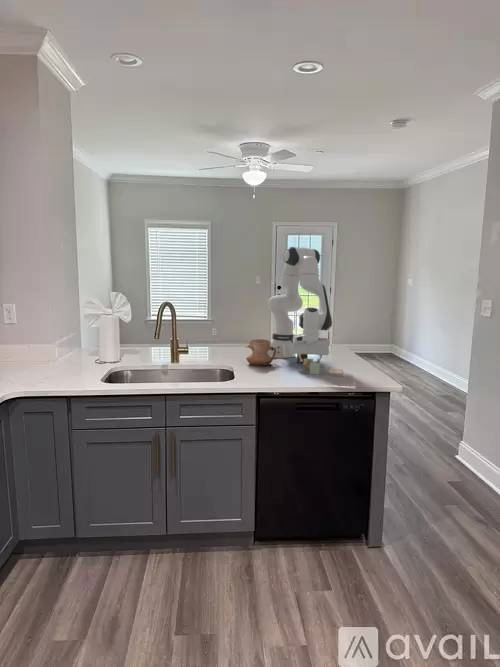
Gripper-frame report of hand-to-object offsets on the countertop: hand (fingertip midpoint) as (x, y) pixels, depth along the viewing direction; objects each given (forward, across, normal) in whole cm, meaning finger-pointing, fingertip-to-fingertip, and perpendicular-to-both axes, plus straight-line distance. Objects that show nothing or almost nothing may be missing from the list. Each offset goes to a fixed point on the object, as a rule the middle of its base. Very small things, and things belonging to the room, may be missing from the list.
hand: (309, 362), depth 239 cm
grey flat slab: (+5, -7, +5) cm, 10 cm away
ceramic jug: (+4, +29, -7) cm, 30 cm away
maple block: (+4, +1, 0) cm, 4 cm away
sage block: (+4, -3, +9) cm, 10 cm away
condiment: (+5, +5, -12) cm, 14 cm away
